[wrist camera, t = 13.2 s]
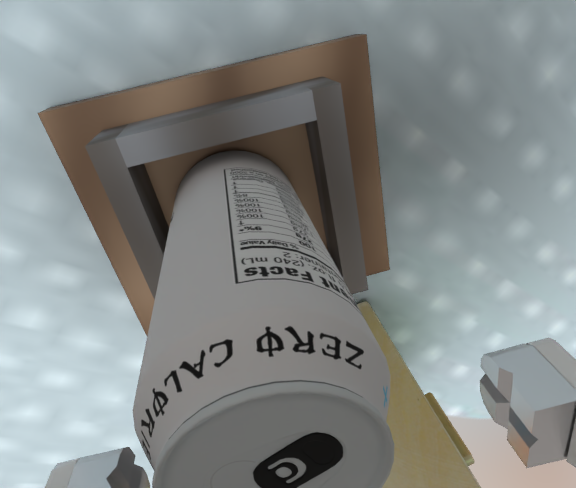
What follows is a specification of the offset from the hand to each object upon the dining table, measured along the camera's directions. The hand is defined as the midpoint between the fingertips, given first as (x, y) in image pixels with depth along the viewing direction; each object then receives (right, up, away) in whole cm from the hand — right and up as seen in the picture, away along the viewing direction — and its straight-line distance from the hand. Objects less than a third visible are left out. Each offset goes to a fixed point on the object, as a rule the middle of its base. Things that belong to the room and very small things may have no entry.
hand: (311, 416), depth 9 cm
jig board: (-3, +7, +13) cm, 15 cm away
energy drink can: (-3, +6, +12) cm, 14 cm away
